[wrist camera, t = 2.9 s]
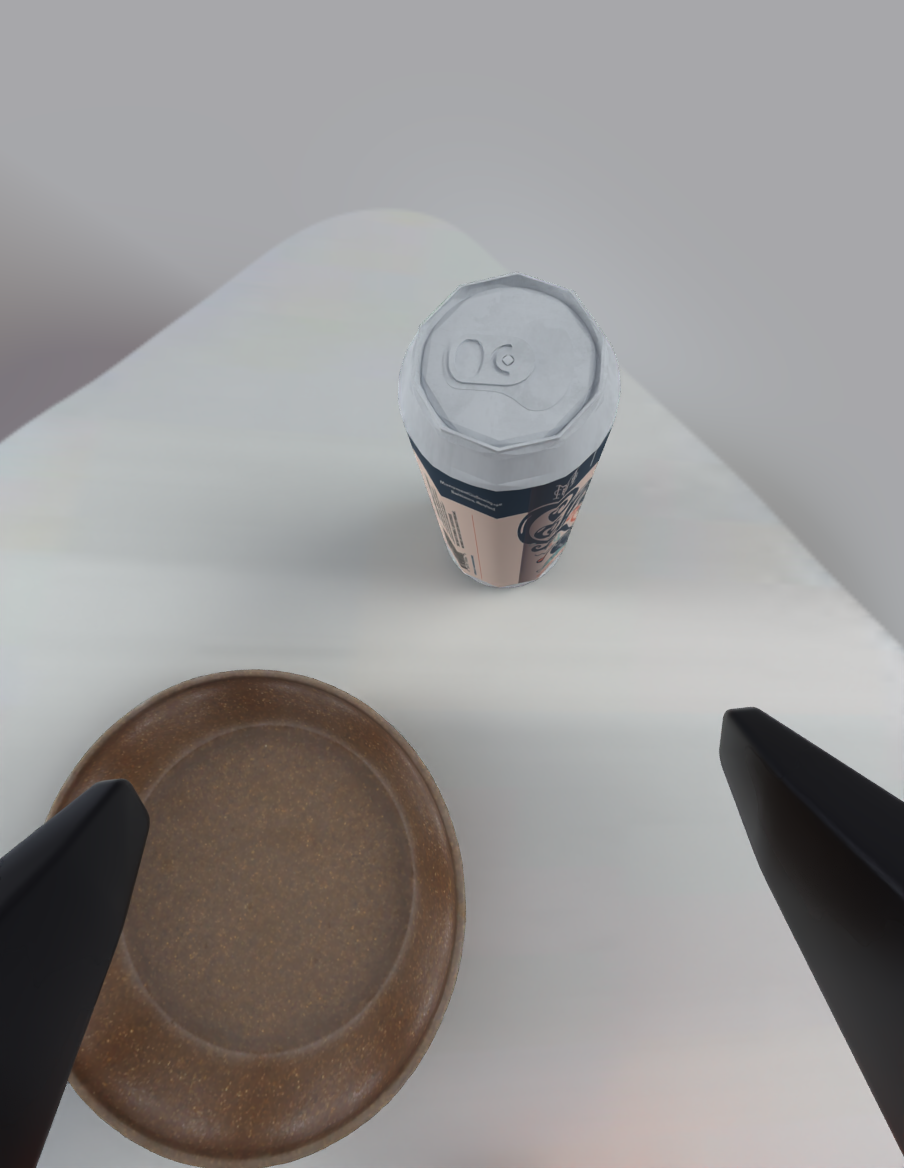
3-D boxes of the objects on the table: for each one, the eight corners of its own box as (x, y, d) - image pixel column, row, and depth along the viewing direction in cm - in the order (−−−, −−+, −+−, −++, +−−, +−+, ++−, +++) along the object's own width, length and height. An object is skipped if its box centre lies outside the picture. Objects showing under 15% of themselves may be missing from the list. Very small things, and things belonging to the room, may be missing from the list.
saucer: (9, 1014, 21) (-61, 1057, 19) (167, 625, 24) (126, 616, 21) (391, 1188, 19) (373, 1264, 17) (521, 743, 22) (523, 748, 19)
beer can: (560, 596, 23) (622, 481, 11) (438, 584, 23) (373, 461, 12) (570, 479, 24) (637, 259, 12) (452, 470, 24) (406, 249, 12)
